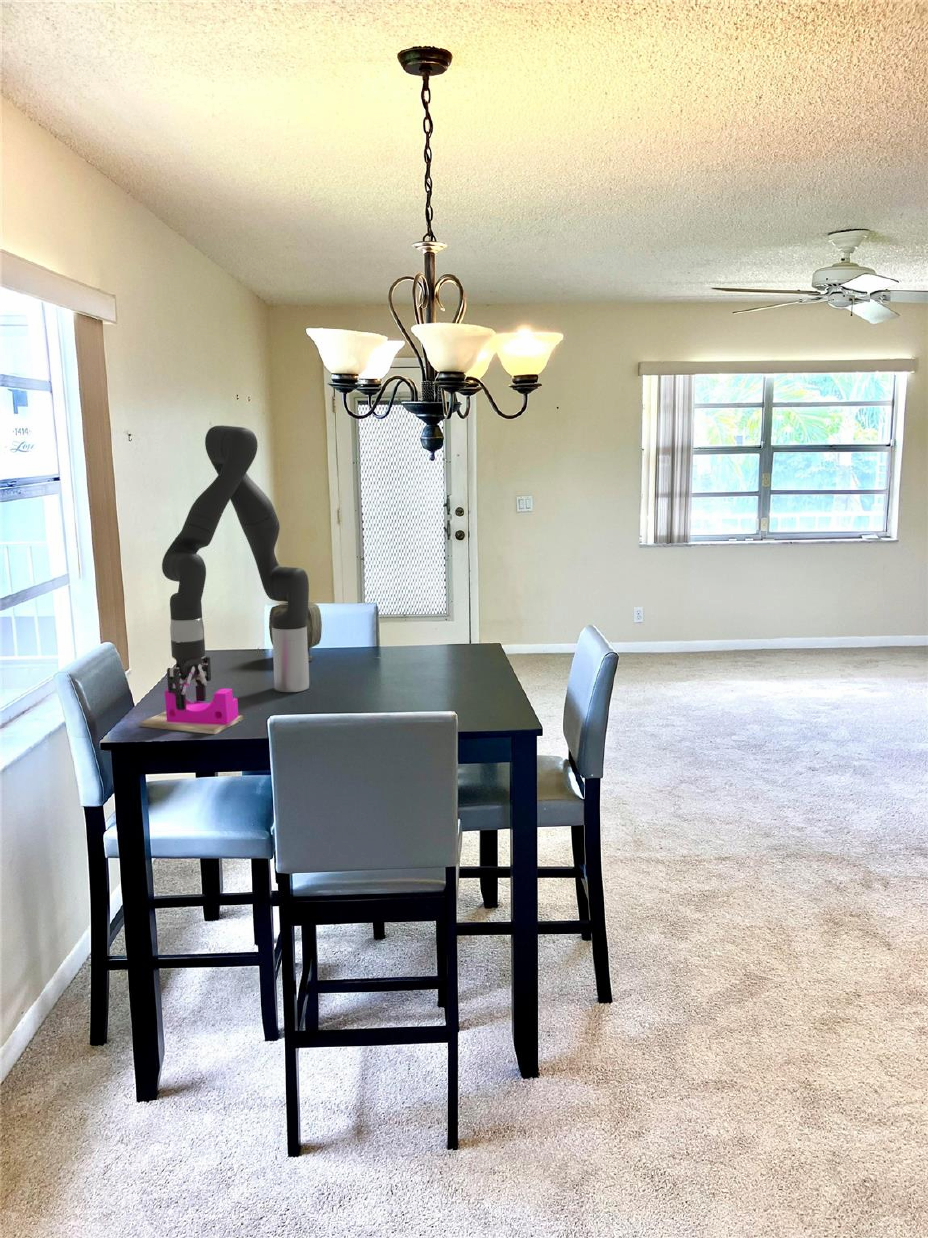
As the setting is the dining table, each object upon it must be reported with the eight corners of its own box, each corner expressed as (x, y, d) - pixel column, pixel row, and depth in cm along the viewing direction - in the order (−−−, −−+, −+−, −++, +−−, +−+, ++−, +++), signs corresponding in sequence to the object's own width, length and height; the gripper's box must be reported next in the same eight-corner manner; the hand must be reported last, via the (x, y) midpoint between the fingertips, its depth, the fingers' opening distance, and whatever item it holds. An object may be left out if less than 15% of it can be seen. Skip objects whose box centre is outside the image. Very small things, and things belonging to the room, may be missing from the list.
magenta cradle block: (238, 716, 211) (236, 686, 209) (227, 724, 205) (225, 693, 203) (179, 713, 213) (177, 683, 212) (166, 721, 207) (164, 691, 206)
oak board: (171, 712, 218) (171, 708, 218) (243, 719, 213) (242, 715, 212) (140, 726, 207) (140, 722, 207) (214, 734, 201) (214, 730, 201)
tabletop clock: (270, 660, 276) (267, 580, 271) (282, 654, 284) (279, 577, 280) (313, 662, 272) (311, 582, 268) (324, 656, 281) (322, 578, 277)
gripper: (191, 630, 214) (195, 696, 217) (154, 642, 201) (159, 712, 203) (218, 632, 212) (222, 698, 215) (183, 644, 198) (187, 714, 201)
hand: (191, 705), depth 209 cm, fingers open, 7 cm apart
